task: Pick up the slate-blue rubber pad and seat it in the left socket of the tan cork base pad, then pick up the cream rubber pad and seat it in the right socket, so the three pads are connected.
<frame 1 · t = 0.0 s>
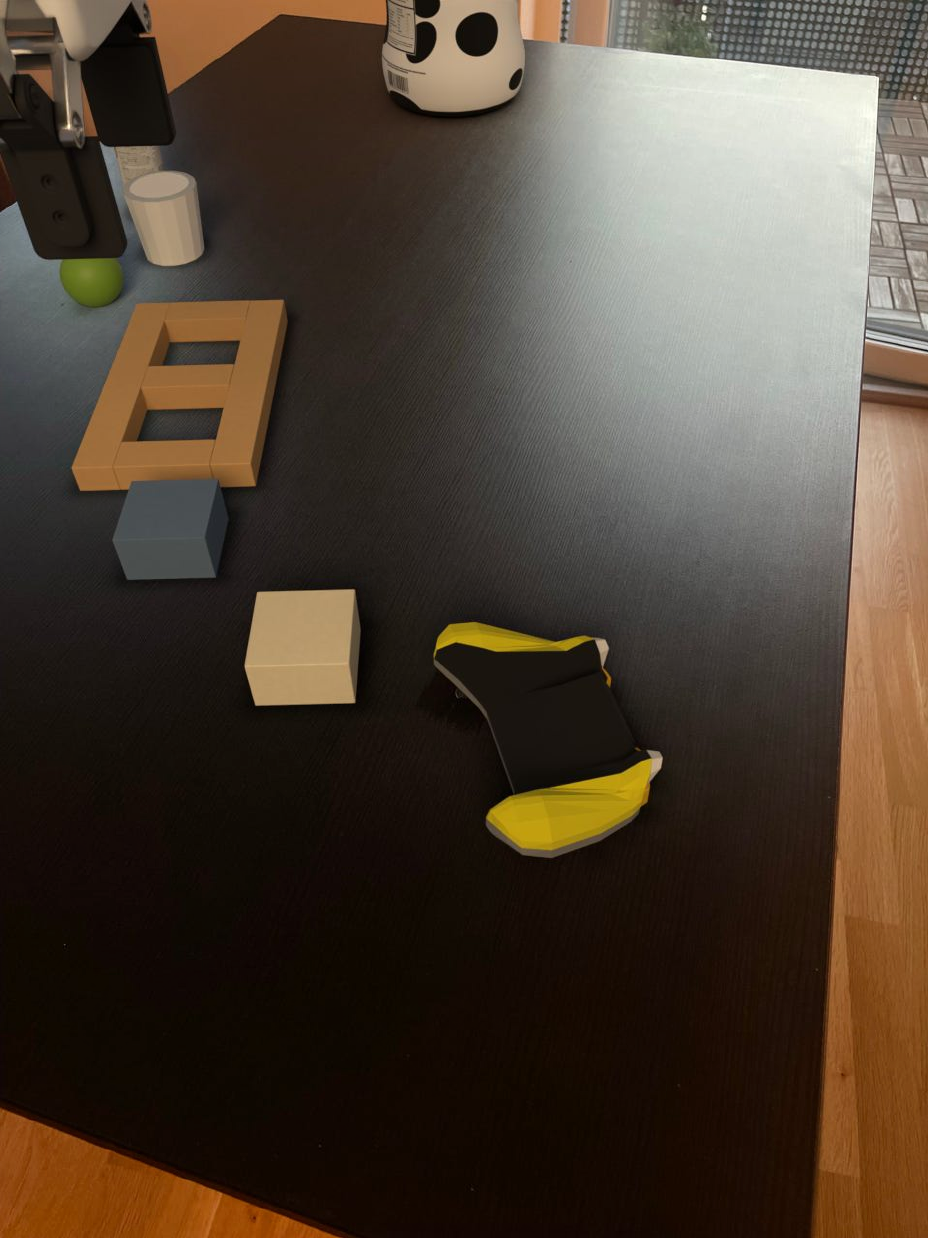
hand: (114, 194, 39), 30 cm above the table, tool pointing down, fingers open, 9 cm apart
milk container: (454, 103, 124), on the table
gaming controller: (543, 759, 57), on the table
sprinkles bottle: (153, 216, 105), on the table
slate pad: (180, 552, 69), on the table
shot glass: (176, 257, 99), on the table
cream pad: (310, 669, 62), on the table
cork base: (194, 401, 81), on the table
snail figurine: (105, 305, 93), on the table
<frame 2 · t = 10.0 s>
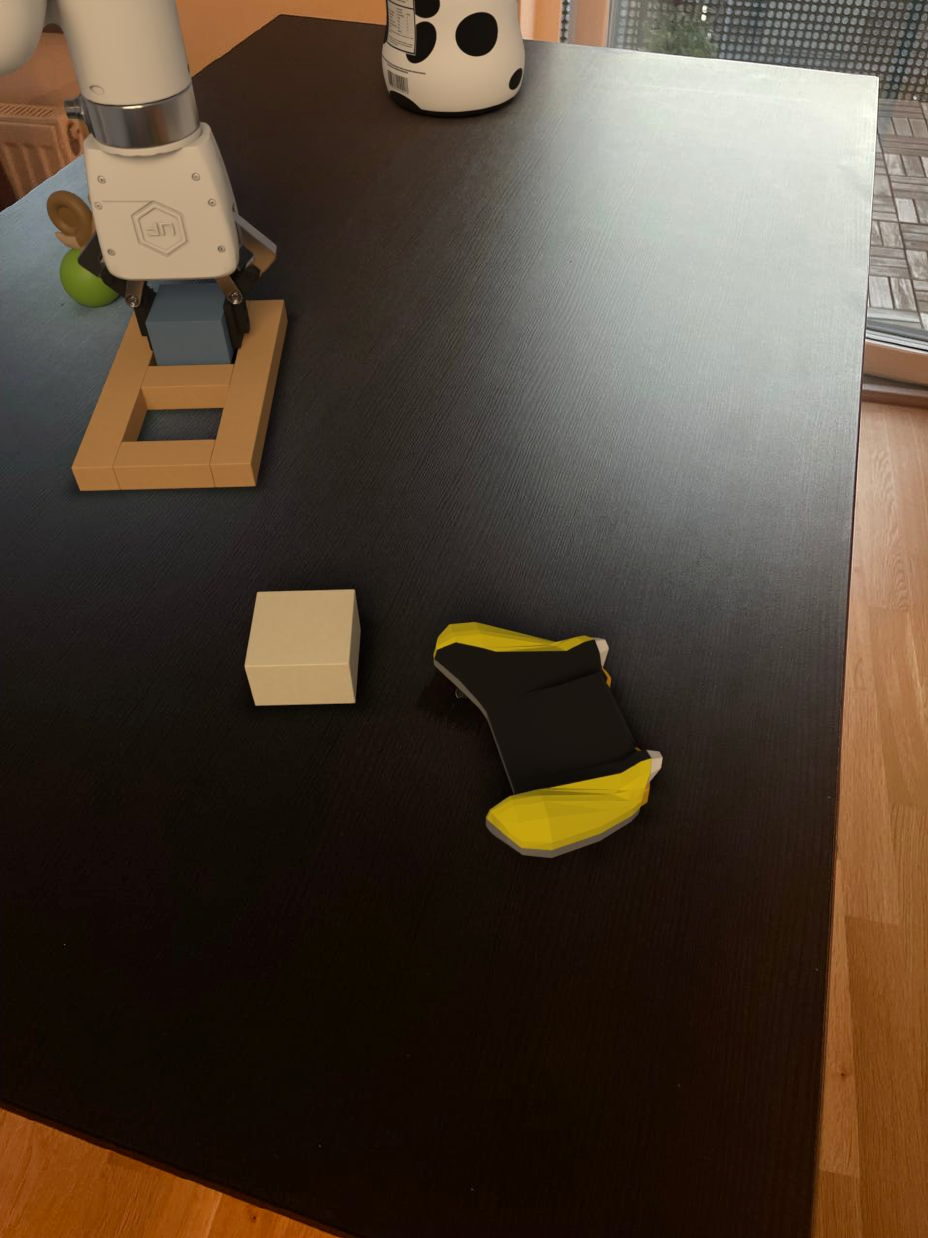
hand: (198, 339, 83), 3 cm above the table, tool pointing down, fingers closed on slate pad, 6 cm apart
slate pad: (200, 345, 83), point 2 cm above the table, touching gripper
everything else where it was.
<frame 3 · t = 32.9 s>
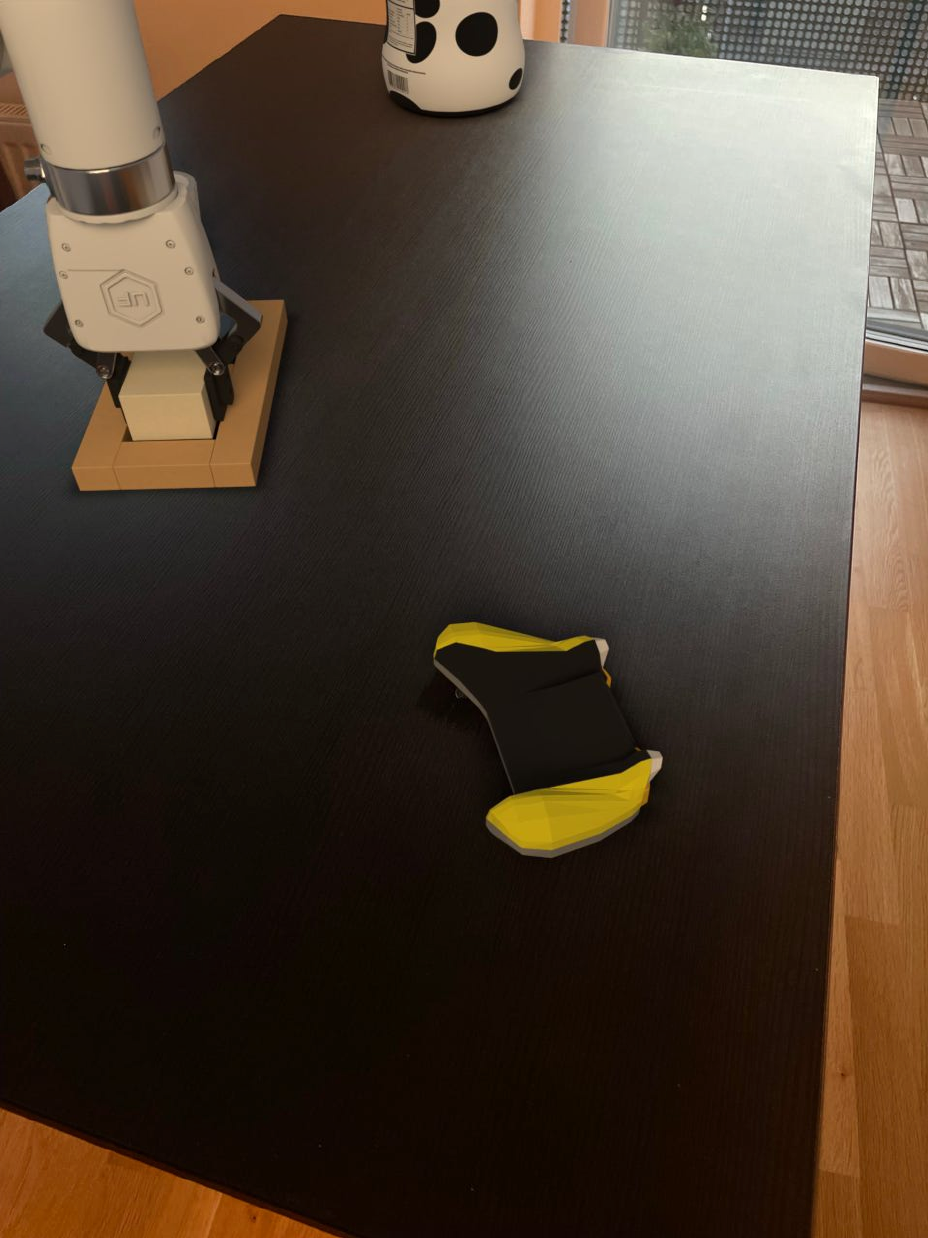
hand: (178, 410, 76), 3 cm above the table, tool pointing down, fingers closed on cream pad, 6 cm apart
slate pad: (203, 367, 85), resting in cork base
cream pad: (179, 416, 77), point 2 cm above the table, touching gripper
everything else where it was.
when the fingers open (4 cm above the table, at t = 44.3 s): cream pad drops 3 cm, resting in cork base.
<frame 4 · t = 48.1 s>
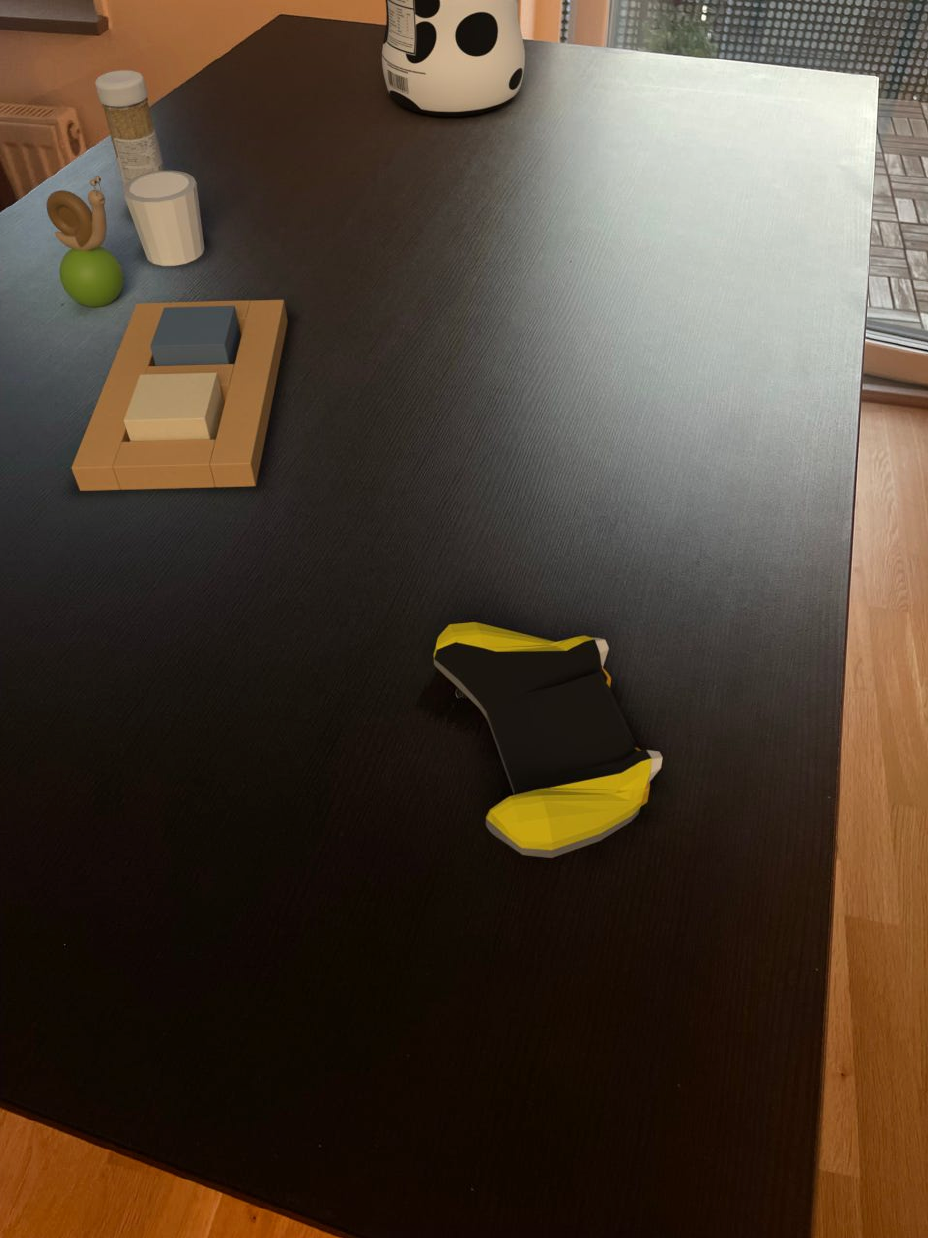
cream pad: (183, 438, 78), resting in cork base
everything else where it was.
at the end: slate pad 0.1 cm from the target spot in the cork base, point 0.0 cm above the cork base's base; cream pad 0.1 cm from the target spot in the cork base, point 0.0 cm above the cork base's base; cream pad tilted 0° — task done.
